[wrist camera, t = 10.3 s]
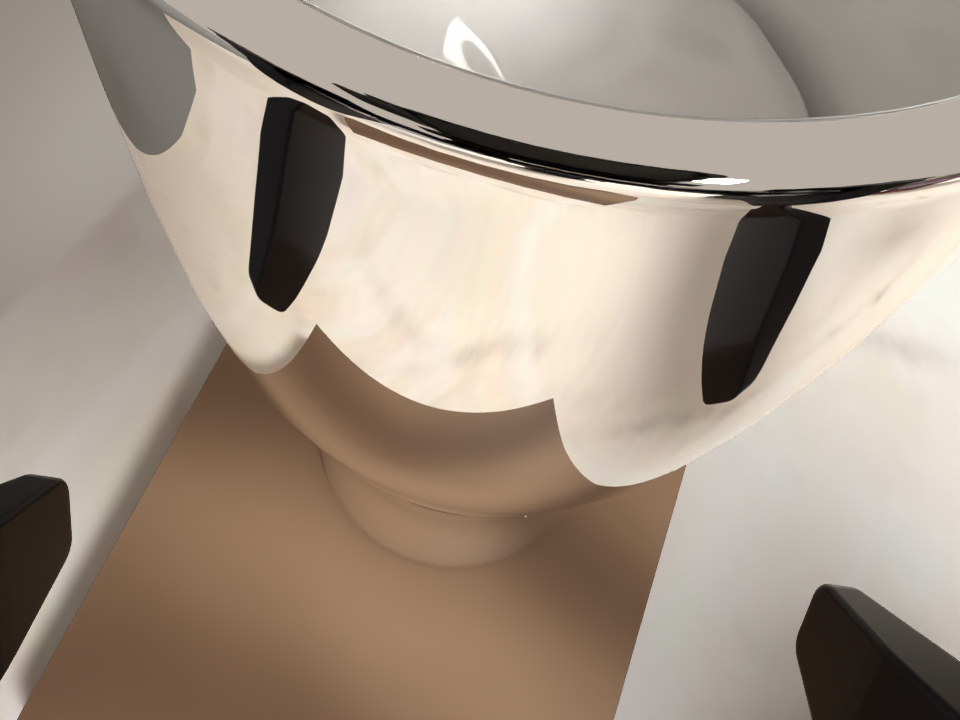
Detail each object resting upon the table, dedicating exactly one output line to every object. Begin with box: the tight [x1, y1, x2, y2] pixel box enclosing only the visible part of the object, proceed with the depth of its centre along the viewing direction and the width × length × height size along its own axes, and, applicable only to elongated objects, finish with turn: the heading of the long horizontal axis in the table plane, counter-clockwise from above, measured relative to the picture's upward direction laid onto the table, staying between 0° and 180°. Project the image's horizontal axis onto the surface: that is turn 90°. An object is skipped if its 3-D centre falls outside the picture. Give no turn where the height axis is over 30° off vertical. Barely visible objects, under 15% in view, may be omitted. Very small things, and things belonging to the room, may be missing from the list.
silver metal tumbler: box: [71, 0, 960, 568], centre depth 11 cm, size 7×7×15 cm
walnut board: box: [17, 343, 686, 720], centre depth 18 cm, size 15×11×1 cm
